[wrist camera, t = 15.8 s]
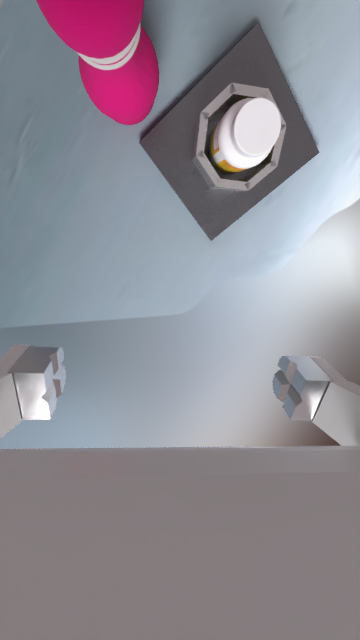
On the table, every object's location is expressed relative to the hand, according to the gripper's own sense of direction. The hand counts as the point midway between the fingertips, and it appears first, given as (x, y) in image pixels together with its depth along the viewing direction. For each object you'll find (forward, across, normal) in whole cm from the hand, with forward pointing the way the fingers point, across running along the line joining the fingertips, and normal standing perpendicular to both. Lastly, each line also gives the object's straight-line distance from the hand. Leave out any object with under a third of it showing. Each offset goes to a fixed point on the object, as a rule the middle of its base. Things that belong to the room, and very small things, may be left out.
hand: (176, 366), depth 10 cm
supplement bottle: (+27, -7, -12) cm, 31 cm away
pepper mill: (+29, +5, -16) cm, 33 cm away
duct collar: (+28, -8, -12) cm, 31 cm away
